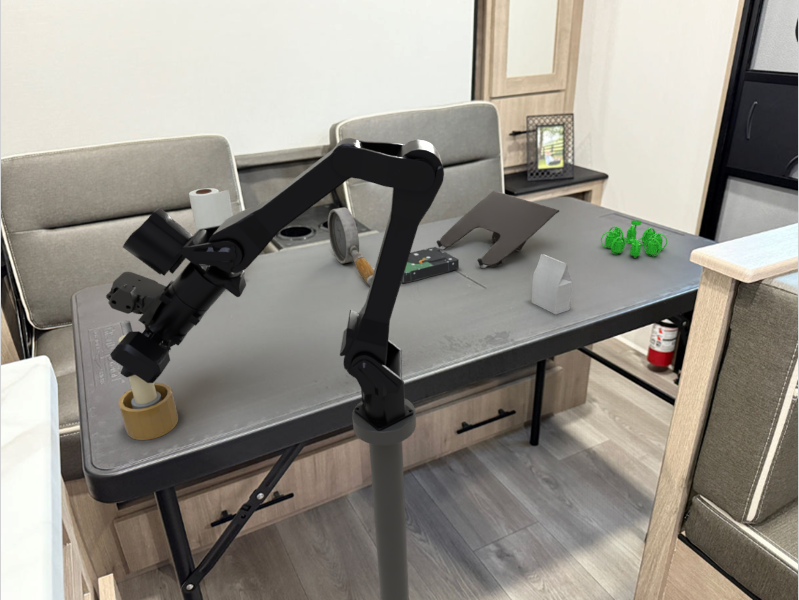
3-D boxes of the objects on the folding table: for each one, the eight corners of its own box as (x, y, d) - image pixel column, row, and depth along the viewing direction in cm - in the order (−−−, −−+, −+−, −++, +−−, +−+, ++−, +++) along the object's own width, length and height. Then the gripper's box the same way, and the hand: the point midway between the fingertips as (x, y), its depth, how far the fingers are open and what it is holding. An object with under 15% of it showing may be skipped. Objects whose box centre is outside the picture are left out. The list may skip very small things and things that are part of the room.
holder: (185, 426, 88) (178, 397, 86) (134, 447, 84) (126, 417, 82) (168, 404, 94) (162, 377, 91) (120, 423, 90) (112, 395, 88)
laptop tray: (441, 264, 157) (427, 238, 152) (501, 211, 163) (491, 183, 157) (501, 293, 139) (488, 265, 134) (566, 232, 145) (557, 202, 140)
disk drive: (434, 257, 146) (381, 269, 140) (434, 246, 145) (380, 258, 139) (459, 270, 138) (403, 284, 132) (459, 259, 137) (403, 272, 131)
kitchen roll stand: (166, 400, 90) (145, 314, 84) (158, 417, 86) (136, 328, 80) (139, 402, 90) (116, 316, 83) (130, 419, 86) (105, 329, 80)
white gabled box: (555, 314, 116) (559, 266, 112) (531, 302, 122) (534, 256, 117) (569, 309, 118) (573, 262, 114) (545, 297, 123) (548, 251, 119)
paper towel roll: (200, 286, 135) (182, 193, 126) (218, 276, 140) (202, 186, 131) (226, 291, 132) (209, 196, 123) (243, 281, 137) (228, 188, 128)
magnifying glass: (382, 256, 127) (340, 197, 144) (368, 259, 126) (327, 199, 143) (378, 303, 135) (338, 242, 152) (365, 306, 134) (327, 244, 151)
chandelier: (661, 240, 151) (665, 213, 148) (670, 262, 138) (675, 233, 135) (598, 237, 154) (601, 211, 151) (601, 258, 141) (604, 230, 138)
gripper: (165, 232, 86) (107, 304, 91) (108, 285, 69) (41, 370, 74) (229, 281, 89) (170, 348, 94) (189, 343, 72) (119, 421, 77)
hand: (128, 368), depth 85 cm, fingers closed on kitchen roll stand, 3 cm apart
